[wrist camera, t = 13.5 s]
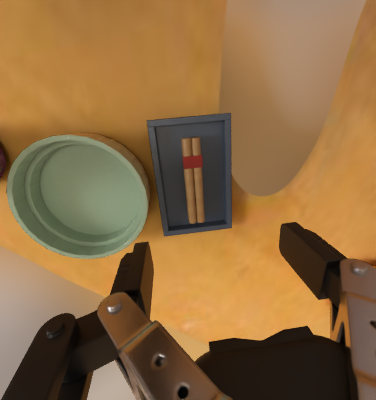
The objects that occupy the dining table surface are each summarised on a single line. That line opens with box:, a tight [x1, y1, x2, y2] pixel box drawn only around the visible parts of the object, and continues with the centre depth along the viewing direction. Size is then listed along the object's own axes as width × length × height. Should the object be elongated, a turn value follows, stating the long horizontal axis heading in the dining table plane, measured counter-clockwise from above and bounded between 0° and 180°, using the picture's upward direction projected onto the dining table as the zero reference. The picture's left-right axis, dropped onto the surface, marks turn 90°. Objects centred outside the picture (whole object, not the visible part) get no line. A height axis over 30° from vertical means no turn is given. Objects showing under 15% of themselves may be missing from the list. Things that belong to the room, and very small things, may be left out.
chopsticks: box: [181, 136, 205, 224], centre depth 29 cm, size 12×2×2 cm, turn 5°
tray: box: [147, 113, 232, 236], centre depth 29 cm, size 17×11×2 cm, turn 5°
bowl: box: [7, 133, 150, 259], centre depth 27 cm, size 16×16×5 cm
